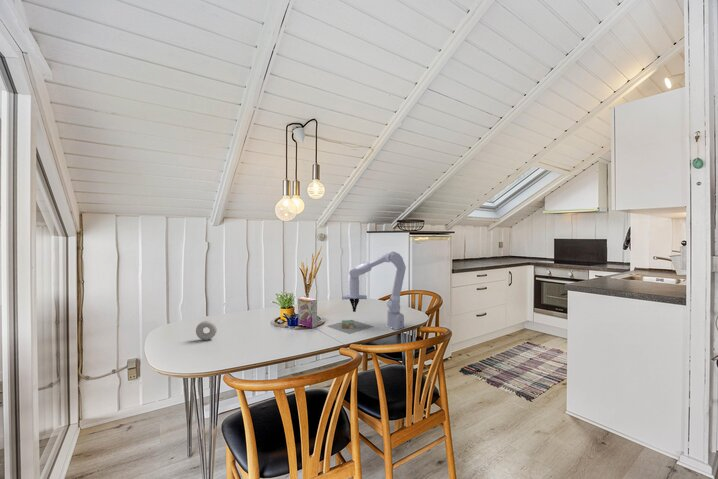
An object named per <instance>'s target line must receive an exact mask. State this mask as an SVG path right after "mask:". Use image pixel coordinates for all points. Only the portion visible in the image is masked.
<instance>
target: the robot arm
mask: <svg viewBox="0 0 718 479" xmlns="http://www.w3.org/2000/svg"><path fill="white" fill-rule="evenodd" d="M383 263H392V265H394V267H395V268H396V270H395V271H396V272H395V278H394V282H393V288H392V291H391V295H390V298H389V300H388V301H387V303H386V306H387V308H388V309H387V321H386V322H387V324H386V325H387V326H388V327H387V328H389V327H390V329H392V328H393V329H392V330H395V329H396V331H397V330H400V328H401V329H403V327H404V328H406V327H405V316H404V314H403V313H401V292H402V289H403V284H404V278H405V273H406V269H407V266H406V264H405V262H404V258H403V257H402V255H401V254H400V253H398V252H396V251H391V252H389V253H385V254H383V255H381V256H380V257H379V256H378V257H377V258H375V259H374V260H372V261H370V262H369V261H363V262H362V263H361V264H358V265H355V267H351V268H350V269H349V271H348V273H349V281H348V282H349V284H348V285H349V286H348V288H349V294H348V295H341V301H342V300H343V301H344V300H349V301H350V304H351V308H352V312H353V313H356V311H357V306H358V304H359V302H360V300H367V299H368V296H367V295H366V294H365V295H362V294H360V276H362V275H365V274H366V273H369V272H371V271H372V269H373V267H376V266H378V265H381V264H383ZM391 327H392V328H391Z"/></svg>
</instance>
